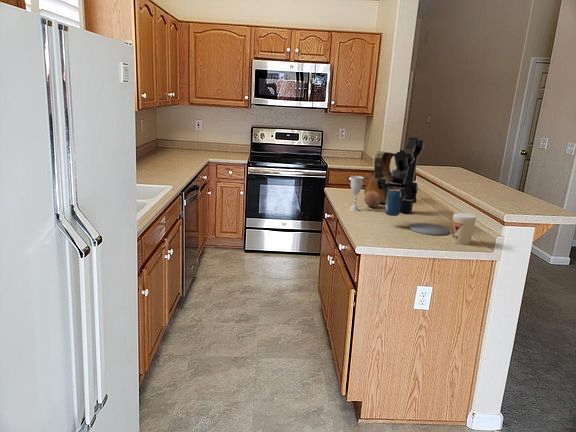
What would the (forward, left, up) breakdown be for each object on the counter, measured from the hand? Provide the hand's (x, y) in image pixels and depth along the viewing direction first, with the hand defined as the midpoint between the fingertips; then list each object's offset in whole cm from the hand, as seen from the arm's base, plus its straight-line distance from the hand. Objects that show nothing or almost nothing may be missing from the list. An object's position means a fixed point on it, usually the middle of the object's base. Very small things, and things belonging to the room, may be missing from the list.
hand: (393, 200), depth 216 cm
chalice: (-5, -34, -13) cm, 37 cm away
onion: (-19, -36, -13) cm, 43 cm away
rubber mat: (-14, +11, -13) cm, 22 cm away
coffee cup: (-13, +30, -13) cm, 35 cm away
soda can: (-1, -1, -7) cm, 7 cm away
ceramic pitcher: (-34, -46, -13) cm, 59 cm away
